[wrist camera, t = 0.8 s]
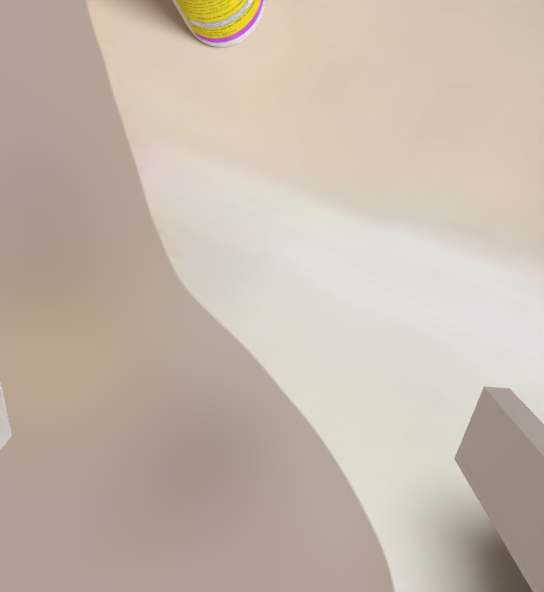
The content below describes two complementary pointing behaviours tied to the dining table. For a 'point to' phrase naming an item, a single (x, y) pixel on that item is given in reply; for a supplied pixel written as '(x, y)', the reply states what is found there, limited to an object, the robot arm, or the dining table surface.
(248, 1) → the supplement bottle
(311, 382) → the dining table surface
